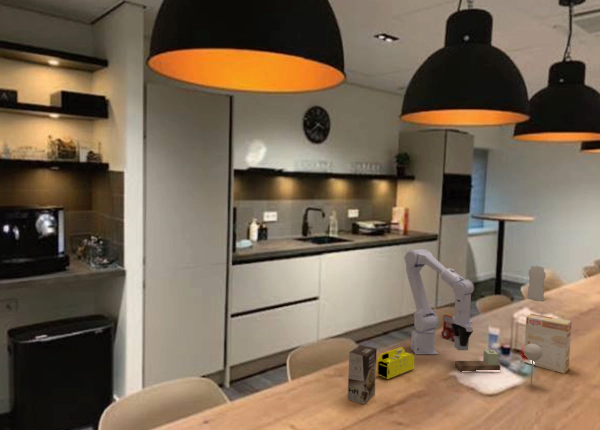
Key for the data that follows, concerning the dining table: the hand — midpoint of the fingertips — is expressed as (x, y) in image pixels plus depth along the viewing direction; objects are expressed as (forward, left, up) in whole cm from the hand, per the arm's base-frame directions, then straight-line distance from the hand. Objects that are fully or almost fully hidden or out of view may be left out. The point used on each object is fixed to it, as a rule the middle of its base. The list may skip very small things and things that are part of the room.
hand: (461, 343), depth 182 cm
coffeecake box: (+35, -1, -9) cm, 36 cm away
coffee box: (-45, -27, -9) cm, 53 cm away
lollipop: (+19, -18, -9) cm, 28 cm away
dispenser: (+94, +106, -9) cm, 142 cm away
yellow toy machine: (-28, -8, -9) cm, 31 cm away
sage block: (+10, -5, -6) cm, 13 cm away
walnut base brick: (+5, -5, -9) cm, 11 cm away
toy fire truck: (+10, +31, -9) cm, 34 cm away
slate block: (0, 0, -2) cm, 2 cm away
